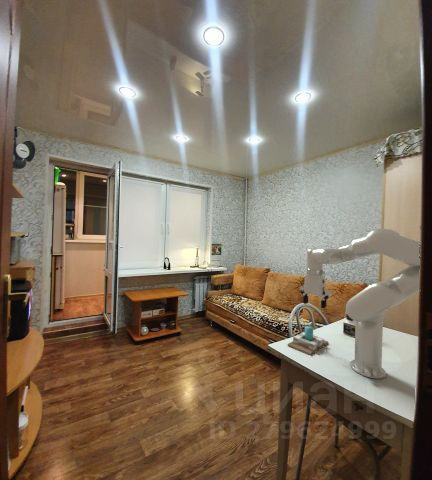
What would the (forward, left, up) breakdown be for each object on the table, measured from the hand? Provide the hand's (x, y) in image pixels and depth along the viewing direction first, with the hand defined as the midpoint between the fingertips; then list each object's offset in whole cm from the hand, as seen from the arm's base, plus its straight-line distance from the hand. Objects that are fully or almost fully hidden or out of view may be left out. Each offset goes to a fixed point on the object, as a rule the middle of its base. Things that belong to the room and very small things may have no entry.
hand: (314, 305), depth 116 cm
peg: (0, +2, -20) cm, 20 cm away
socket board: (0, +2, -21) cm, 21 cm away
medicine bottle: (+27, -20, -21) cm, 39 cm away
